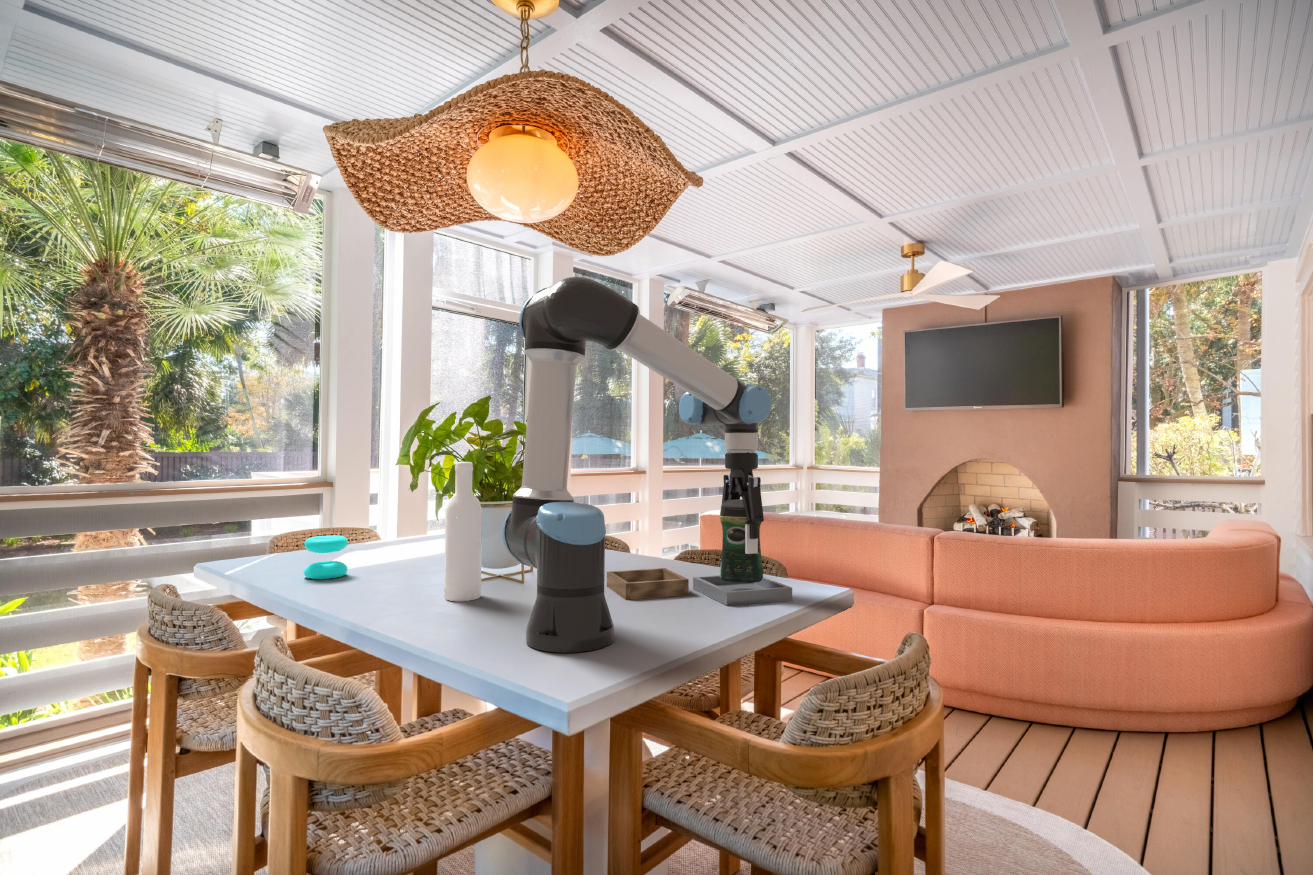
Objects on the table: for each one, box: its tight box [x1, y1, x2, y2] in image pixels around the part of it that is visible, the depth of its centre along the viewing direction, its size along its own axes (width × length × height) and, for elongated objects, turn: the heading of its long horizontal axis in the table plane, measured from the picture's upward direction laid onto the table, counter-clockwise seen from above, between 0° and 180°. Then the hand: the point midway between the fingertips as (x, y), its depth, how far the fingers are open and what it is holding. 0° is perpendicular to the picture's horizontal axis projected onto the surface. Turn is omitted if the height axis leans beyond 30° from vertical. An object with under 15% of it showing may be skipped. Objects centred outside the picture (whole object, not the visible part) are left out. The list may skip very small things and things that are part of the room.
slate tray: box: [692, 574, 793, 607], centre depth 154 cm, size 16×18×3 cm
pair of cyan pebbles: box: [303, 535, 349, 580], centre depth 172 cm, size 10×10×10 cm
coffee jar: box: [719, 498, 764, 583], centre depth 154 cm, size 10×8×19 cm
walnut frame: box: [606, 567, 690, 600], centre depth 158 cm, size 15×15×4 cm
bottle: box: [443, 461, 483, 602], centre depth 149 cm, size 8×8×30 cm
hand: (741, 549), depth 154 cm, fingers closed on coffee jar, 9 cm apart
